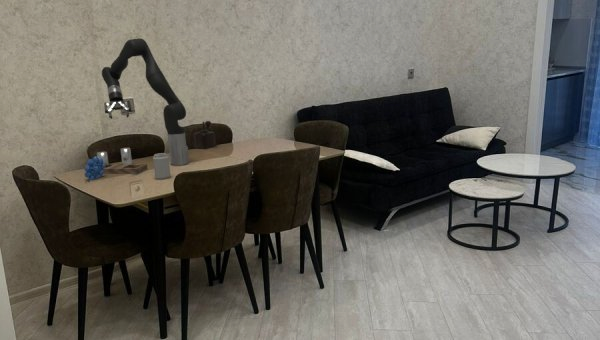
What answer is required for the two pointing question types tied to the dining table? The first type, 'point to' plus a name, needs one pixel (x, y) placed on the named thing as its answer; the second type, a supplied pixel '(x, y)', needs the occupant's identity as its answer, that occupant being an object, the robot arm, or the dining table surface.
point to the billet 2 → (126, 156)
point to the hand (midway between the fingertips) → (119, 117)
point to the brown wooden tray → (125, 169)
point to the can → (161, 166)
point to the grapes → (94, 168)
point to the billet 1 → (104, 157)
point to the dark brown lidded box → (204, 138)
